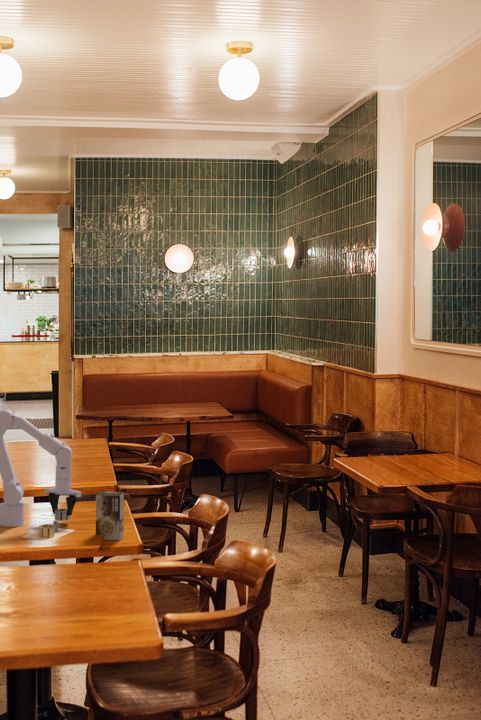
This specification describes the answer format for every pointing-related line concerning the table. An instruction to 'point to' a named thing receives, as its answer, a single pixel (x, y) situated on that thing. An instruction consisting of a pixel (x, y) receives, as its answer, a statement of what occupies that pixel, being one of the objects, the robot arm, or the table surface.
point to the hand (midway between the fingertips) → (62, 514)
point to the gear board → (58, 533)
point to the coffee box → (110, 515)
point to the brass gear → (46, 531)
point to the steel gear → (61, 514)
